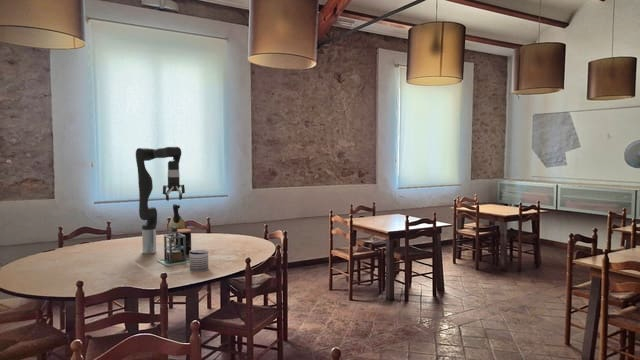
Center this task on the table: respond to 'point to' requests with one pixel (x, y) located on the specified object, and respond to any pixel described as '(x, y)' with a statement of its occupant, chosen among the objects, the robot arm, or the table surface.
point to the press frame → (174, 257)
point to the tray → (173, 263)
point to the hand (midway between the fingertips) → (174, 200)
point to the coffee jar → (188, 239)
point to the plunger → (175, 239)
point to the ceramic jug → (176, 221)
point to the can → (198, 260)
